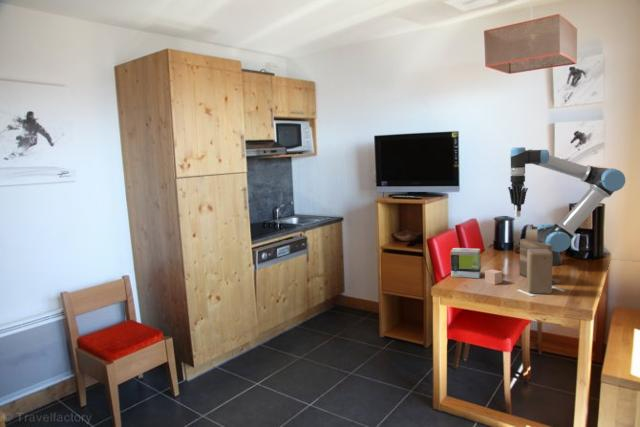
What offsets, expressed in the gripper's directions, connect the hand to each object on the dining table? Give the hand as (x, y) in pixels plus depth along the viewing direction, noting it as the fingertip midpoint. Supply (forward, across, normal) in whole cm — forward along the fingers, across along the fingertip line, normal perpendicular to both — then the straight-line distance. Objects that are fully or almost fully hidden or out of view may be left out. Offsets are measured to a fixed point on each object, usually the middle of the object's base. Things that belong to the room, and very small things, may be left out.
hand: (517, 216), depth 255 cm
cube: (+30, +16, -29) cm, 45 cm away
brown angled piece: (+30, +21, -5) cm, 37 cm away
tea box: (+30, -1, -34) cm, 46 cm away
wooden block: (+31, +37, -20) cm, 52 cm away
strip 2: (+30, +37, -10) cm, 49 cm away
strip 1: (+30, +37, -28) cm, 55 cm away
